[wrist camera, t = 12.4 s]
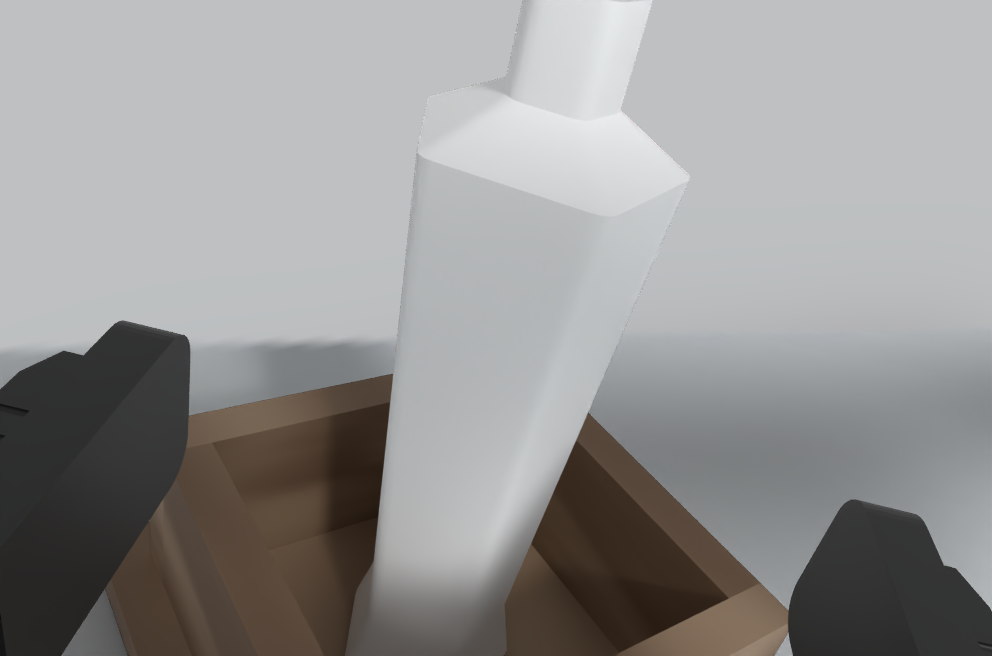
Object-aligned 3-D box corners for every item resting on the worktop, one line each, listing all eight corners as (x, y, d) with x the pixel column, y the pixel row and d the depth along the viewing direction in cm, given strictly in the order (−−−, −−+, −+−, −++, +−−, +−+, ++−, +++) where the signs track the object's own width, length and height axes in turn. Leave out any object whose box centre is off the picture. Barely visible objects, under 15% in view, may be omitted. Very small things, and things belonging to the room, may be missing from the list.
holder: (494, 450, 28) (529, 322, 25) (772, 774, 20) (864, 639, 18) (96, 563, 21) (88, 405, 18) (285, 1115, 13) (316, 978, 11)
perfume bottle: (285, 601, 20) (367, -91, 12) (440, 541, 23) (590, -63, 15) (382, 769, 17) (570, 6, 9) (547, 678, 20) (802, 21, 12)
